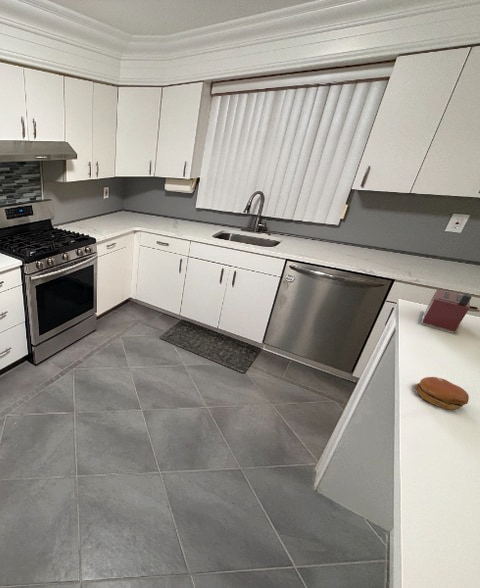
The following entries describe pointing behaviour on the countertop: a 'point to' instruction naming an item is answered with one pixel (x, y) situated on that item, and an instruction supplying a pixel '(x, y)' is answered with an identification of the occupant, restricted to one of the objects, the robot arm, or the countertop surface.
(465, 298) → the browning slider
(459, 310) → the toaster
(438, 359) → the countertop surface
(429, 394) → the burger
